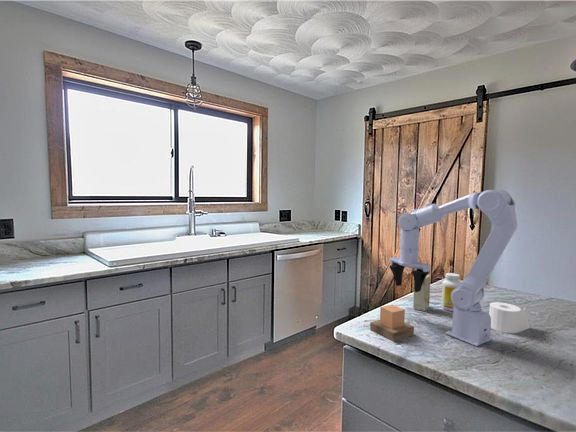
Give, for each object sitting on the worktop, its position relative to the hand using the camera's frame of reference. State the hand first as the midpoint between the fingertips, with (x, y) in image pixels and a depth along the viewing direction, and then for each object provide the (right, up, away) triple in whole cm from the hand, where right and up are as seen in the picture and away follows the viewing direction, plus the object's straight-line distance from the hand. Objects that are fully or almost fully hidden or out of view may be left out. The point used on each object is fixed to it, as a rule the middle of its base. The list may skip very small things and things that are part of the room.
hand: (407, 288), depth 109 cm
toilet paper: (+30, -11, -7) cm, 33 cm away
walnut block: (-9, -12, -10) cm, 18 cm away
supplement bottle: (+20, -10, +10) cm, 25 cm away
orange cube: (-9, -9, -10) cm, 16 cm away
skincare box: (+9, -10, +11) cm, 17 cm away
